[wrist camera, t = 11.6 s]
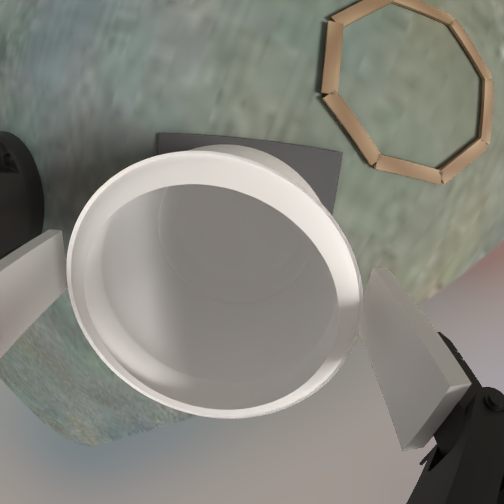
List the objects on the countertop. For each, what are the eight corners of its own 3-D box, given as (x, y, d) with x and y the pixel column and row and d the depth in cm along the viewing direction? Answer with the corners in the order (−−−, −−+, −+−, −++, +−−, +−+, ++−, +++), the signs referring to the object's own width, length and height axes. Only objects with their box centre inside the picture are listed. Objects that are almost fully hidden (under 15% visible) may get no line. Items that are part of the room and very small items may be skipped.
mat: (156, 261, 26) (154, 263, 26) (161, 132, 22) (159, 132, 22) (316, 282, 26) (317, 284, 25) (341, 152, 22) (342, 152, 21)
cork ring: (312, 156, 22) (313, 156, 22) (330, -24, 16) (331, -26, 16) (477, 195, 22) (480, 197, 22) (489, 38, 16) (492, 38, 16)
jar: (151, 188, 23) (22, 262, 9) (263, 116, 21) (254, 75, 7) (223, 293, 26) (184, 440, 12) (332, 234, 24) (402, 362, 10)
